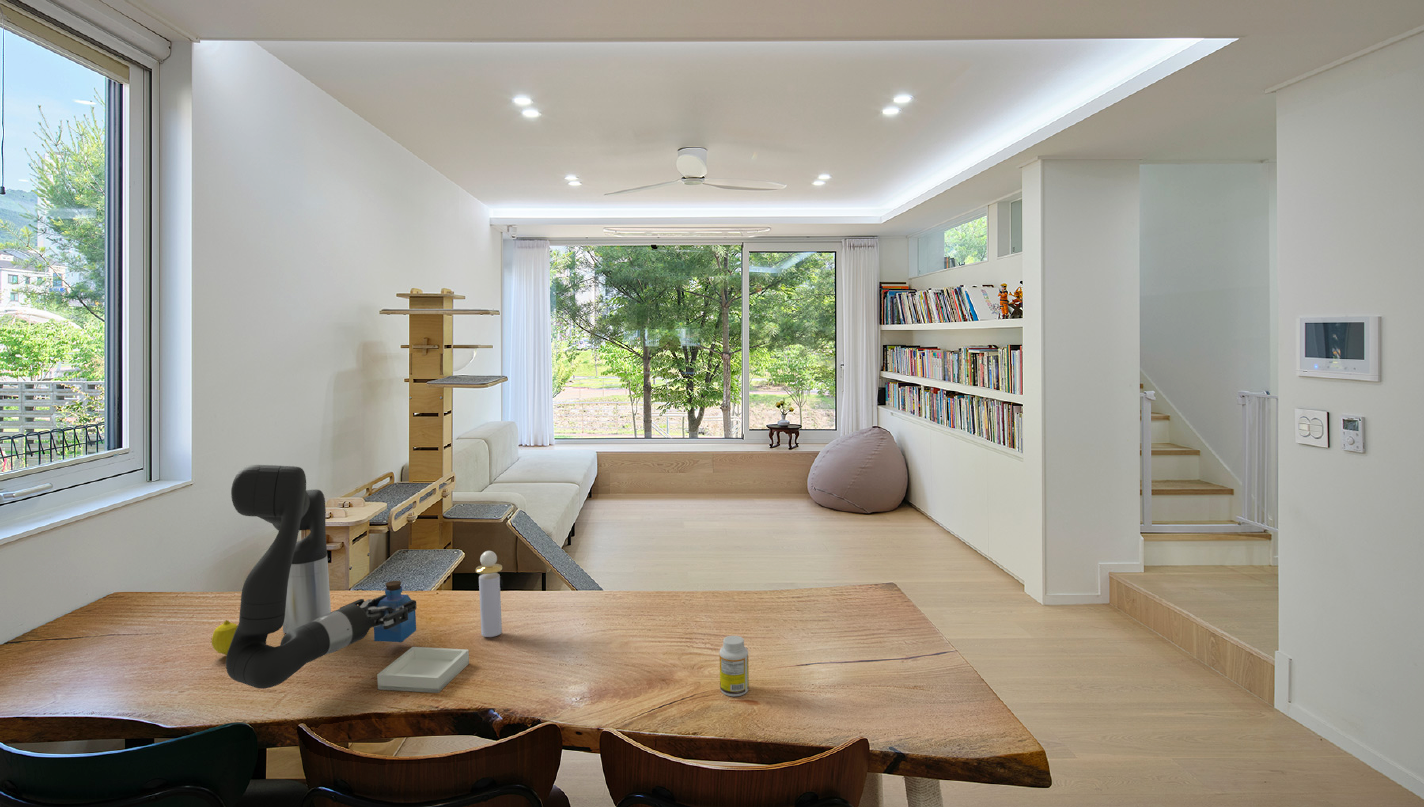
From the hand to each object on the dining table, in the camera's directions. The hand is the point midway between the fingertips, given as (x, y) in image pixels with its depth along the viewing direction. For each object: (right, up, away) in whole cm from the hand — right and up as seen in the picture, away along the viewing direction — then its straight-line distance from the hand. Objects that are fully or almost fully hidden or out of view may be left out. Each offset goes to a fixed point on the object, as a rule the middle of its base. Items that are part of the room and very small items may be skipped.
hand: (401, 601), depth 158 cm
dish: (+11, -11, -14) cm, 21 cm away
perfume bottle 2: (+19, -10, +5) cm, 22 cm away
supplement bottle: (+73, -11, -21) cm, 77 cm away
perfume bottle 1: (-1, -7, -1) cm, 8 cm away
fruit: (-36, -11, -3) cm, 38 cm away
